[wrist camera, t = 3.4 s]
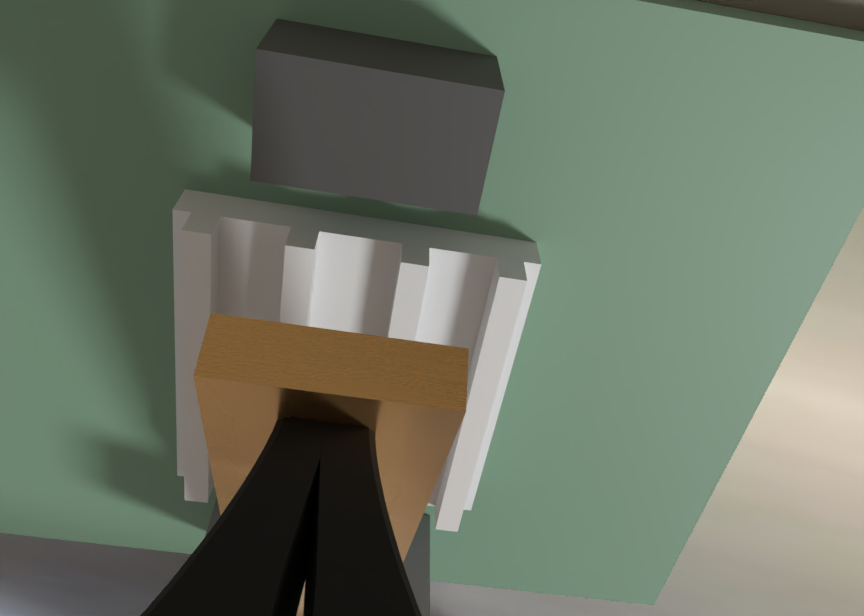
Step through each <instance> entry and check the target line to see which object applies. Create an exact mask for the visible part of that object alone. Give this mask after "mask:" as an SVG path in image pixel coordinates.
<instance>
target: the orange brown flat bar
mask: <svg viewBox="0 0 864 616" xmlns="http://www.w3.org/2000/svg"><path fill="white" fill-rule="evenodd" d="M468 356H469V348H462V347H454V346H447V345H440V344H433V343H425V342H418V341H411V340H404V339H397V338H389V337H382V336H375V335H368V334H360V333H353V332H346V331H339V330H331V329H324V328H317V327H310V326H302V325H295V324H288V323H281V322H273V321H266V320H259V319H252V318H244V317H237V316H230V315H223V314H216V313H211V314H210V317H209V321H208V324H207V328H206V332H205V335H204V339H203V342H202V346H201V350H200V353H199V357H198V360H197V364H196V368H195V371H194V375H193V378H194V383H195V388H196V393H197V398H198V403H199V408H200V414H201V419H202V424H203V429H204V434H205V439H206V444H207V449H208V454H209V459H210V465H211V470H212V475H213V480H214V485H215V490H216V495H217V500H218V505H219V510H220V516H221V515H222V513H223V512H224V510H225V509H226V507H227V506H228V504H229V503H230V501H231V500H232V498H233V497H234V496H235V494H236V493H237V491H238V490H239V488H240V487H241V485H242V484H243V482H244V481H245V479H246V477H247V476H248V474H249V472H250V471H251V469H252V468H253V466H254V464H255V463H256V461H257V459H258V457H259V456H260V454H261V452H262V450H263V449H264V447H265V445H266V443H267V441H268V439H269V437H270V435H271V433H272V431H273V428H274V426H275V424H276V421H277V420H279V419H282V418H284V417H287V418H295V419H303V420H310V421H318V422H326V423H334V424H342V425H350V426H358V427H367V428H370V429H371V430H372V431H373V432H375V441H376V452H377V461H378V467H379V473H380V479H381V484H382V488H383V493H384V498H385V502H386V506H387V510H388V514H389V518H390V521H391V525H392V528H393V532H394V535H395V539H396V542H397V546H398V549H399V552H400V556H401V559H402V562H404V559H405V557H406V554H407V552H408V550H409V547H410V545H411V542H412V540H413V538H414V535H415V533H416V530H417V528H418V526H419V523H420V521H421V519H422V516H423V514H424V511H425V509H426V507H427V504H428V502H429V499H430V497H431V495H432V492H433V490H434V487H435V485H436V483H437V480H438V478H439V475H440V473H441V471H442V468H443V466H444V463H445V461H446V459H447V456H448V454H449V451H450V449H451V447H452V444H453V442H454V440H455V437H456V435H457V432H458V430H459V428H460V425H461V423H462V420H463V418H464V416H465V413H466V403H467V379H468ZM304 594H305V583H304V587H303V591H302V595H301V599H300V603H299V607H298V611H297V615H296V616H303V610H304Z"/></svg>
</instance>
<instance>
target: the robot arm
mask: <svg viewBox="0 0 864 616" xmlns="http://www.w3.org/2000/svg"><path fill="white" fill-rule="evenodd" d="M304 583H305V594H304V610H303V616H422V615H421V612H420V610H419V607H418V605H417V602H416V599H415V596H414V593H413V591H412V588H411V585H410V582H409V580H408V577H407V574H406V571H405V568H404V565H403V562H402V559H401V556H400V552H399V549H398V546H397V542H396V539H395V535H394V532H393V528H392V525H391V521H390V518H389V514H388V510H387V506H386V502H385V498H384V493H383V488H382V484H381V479H380V473H379V467H378V461H377V452H376V441H375V432H373V431H372V430H371V429H370V428H367V427H358V426H350V425H342V424H334V423H326V422H318V421H310V420H303V419H295V418H287V417H284V418H282V419H279V420H277V421H276V424H275V426H274V428H273V431H272V433H271V435H270V437H269V439H268V441H267V443H266V445H265V447H264V449H263V450H262V452H261V454H260V456H259V457H258V459H257V461H256V463H255V464H254V466H253V468H252V469H251V471H250V472H249V474H248V476H247V477H246V479H245V481H244V482H243V484H242V485H241V487H240V488H239V490H238V491H237V493H236V494H235V496H234V497H233V498H232V500H231V501H230V503H229V504H228V506H227V507H226V509H225V510H224V512H223V513H222V515H221V516H220V517H219V519H218V520H217V522H216V523H215V525H214V526H213V527H212V529H211V530H210V531H209V533H208V534H207V535H206V537H205V538H204V539H203V540H202V542H201V543H200V544H199V546H198V547H197V548H196V549H195V551H194V552H193V553H192V555H191V556H190V557H189V558H188V560H187V561H186V562H185V564H184V565H183V566H182V567H181V569H180V570H179V571H178V572H177V574H176V575H175V576H174V577H173V579H172V580H171V581H170V582H169V583H168V585H167V586H166V587H165V588H164V589H163V590H162V592H161V593H160V594H159V595H158V596H157V598H156V599H155V600H154V601H153V602H152V603H151V604H150V606H149V607H148V608H147V609H146V610H145V611H144V612H143V613H142V614H141V616H296V615H297V611H298V607H299V603H300V599H301V595H302V591H303V587H304Z"/></svg>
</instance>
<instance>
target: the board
mask: <svg viewBox="0 0 864 616" xmlns="http://www.w3.org/2000/svg"><path fill="white" fill-rule="evenodd" d="M863 207H864V31H860V30H854V29H849V28H843V27H838V26H832V25H827V24H821V23H816V22H811V21H805V20H800V19H794V18H789V17H783V16H778V15H773V14H767V13H762V12H756V11H751V10H745V9H740V8H735V7H729V6H724V5H718V4H713V3H707V2H702V1H696V0H0V533H3V534H12V535H21V536H31V537H40V538H49V539H58V540H67V541H76V542H85V543H94V544H103V545H112V546H121V547H130V548H139V549H148V550H157V551H166V552H176V553H185V554H192V553H193V552H194V551H195V549H196V548H197V547H198V546H199V544H200V543H201V542H202V540H203V539H204V538H205V537H206V535H207V534H208V533H209V531H210V530H211V529H212V527H213V526H214V525H215V523H216V522H217V520H218V519H219V517H220V510H219V505H218V500H217V495H216V490H215V485H214V480H213V475H212V470H211V465H210V459H209V454H208V449H207V444H206V439H205V434H204V429H203V424H202V419H201V414H200V408H199V403H198V398H197V393H196V388H195V383H194V378H193V375H194V371H195V368H196V364H197V360H198V357H199V353H200V350H201V346H202V342H203V339H204V335H205V332H206V328H207V324H208V321H209V317H210V314H211V313H216V314H223V315H230V316H237V317H244V318H252V319H259V320H266V321H273V322H281V323H288V324H295V325H302V326H310V327H317V328H324V329H331V330H339V331H346V332H353V333H360V334H368V335H375V336H382V337H389V338H397V339H404V340H411V341H418V342H425V343H433V344H440V345H447V346H454V347H462V348H469V356H468V379H467V403H466V413H465V416H464V418H463V420H462V423H461V425H460V428H459V430H458V432H457V435H456V437H455V440H454V442H453V444H452V447H451V449H450V451H449V454H448V456H447V459H446V461H445V463H444V466H443V468H442V471H441V473H440V475H439V478H438V480H437V483H436V485H435V487H434V490H433V492H432V495H431V497H430V499H429V502H428V504H427V507H426V509H425V511H424V514H423V516H422V519H421V521H420V523H419V526H418V528H417V530H416V533H415V535H414V538H413V540H412V542H411V545H410V547H409V550H408V552H407V554H406V557H405V559H404V562H403V565H404V568H405V571H406V574H407V577H408V580H409V582H410V585H411V588H412V591H413V593H414V596H415V599H416V602H417V605H418V607H419V610H420V612H421V615H422V616H429V615H430V581H438V582H447V583H457V584H466V585H475V586H484V587H493V588H502V589H511V590H520V591H529V592H538V593H547V594H556V595H565V596H574V597H583V598H592V599H602V600H611V601H620V602H629V603H638V604H647V605H654V603H655V601H656V599H657V597H658V595H659V593H660V591H661V589H662V588H663V586H664V584H665V582H666V580H667V578H668V576H669V574H670V572H671V570H672V569H673V567H674V565H675V563H676V561H677V559H678V557H679V555H680V553H681V552H682V550H683V548H684V546H685V544H686V542H687V540H688V538H689V536H690V534H691V533H692V531H693V529H694V527H695V525H696V523H697V521H698V519H699V517H700V515H701V514H702V512H703V510H704V508H705V506H706V504H707V502H708V500H709V498H710V497H711V495H712V493H713V491H714V489H715V487H716V485H717V483H718V481H719V479H720V478H721V476H722V474H723V472H724V470H725V468H726V466H727V464H728V462H729V461H730V459H731V457H732V455H733V453H734V451H735V449H736V447H737V445H738V443H739V442H740V440H741V438H742V436H743V434H744V432H745V430H746V428H747V426H748V425H749V423H750V421H751V419H752V417H753V415H754V413H755V411H756V409H757V407H758V406H759V404H760V402H761V400H762V398H763V396H764V394H765V392H766V390H767V388H768V387H769V385H770V383H771V381H772V379H773V377H774V375H775V373H776V371H777V370H778V368H779V366H780V364H781V362H782V360H783V358H784V356H785V354H786V352H787V351H788V349H789V347H790V345H791V343H792V341H793V339H794V337H795V335H796V334H797V332H798V330H799V328H800V326H801V324H802V322H803V320H804V318H805V316H806V315H807V313H808V311H809V309H810V307H811V305H812V303H813V301H814V299H815V298H816V296H817V294H818V292H819V290H820V288H821V286H822V284H823V282H824V280H825V279H826V277H827V275H828V273H829V271H830V269H831V267H832V265H833V263H834V261H835V260H836V258H837V256H838V254H839V252H840V250H841V248H842V246H843V244H844V243H845V241H846V239H847V237H848V235H849V233H850V231H851V229H852V227H853V225H854V224H855V222H856V220H857V218H858V216H859V214H860V212H861V210H862V208H863Z"/></svg>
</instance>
